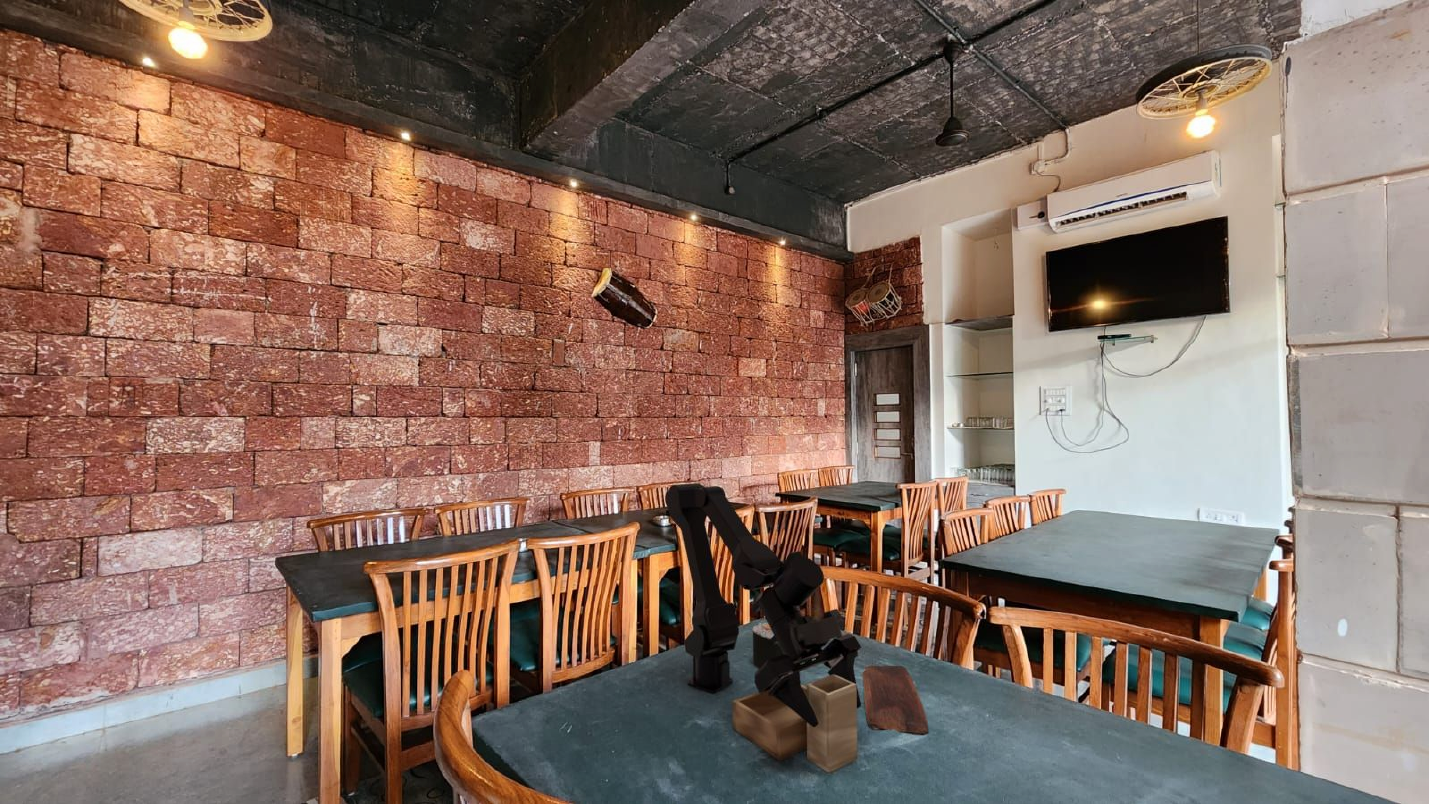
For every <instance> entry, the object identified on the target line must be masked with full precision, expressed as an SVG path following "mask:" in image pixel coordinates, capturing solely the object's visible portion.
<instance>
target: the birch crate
mask: <svg viewBox="0 0 1429 804" xmlns="http://www.w3.org/2000/svg"><path fill="white" fill-rule="evenodd" d="M856 684H857V683H856ZM856 684H855V683H852V682H850V681H848V680H846V679H844V678H841V677H839V676H837V675H835V674H833V675H828V676H824V677H822V678H820V679H817V680H814V681H812V682H808V683H806V685H805V686H806V691H807V699H808V701H809V703H810V705H811V707H812V709H813V711H814V713H815V715H816V718H817V720H818V723H819V724H818V725H817V726H816V727H812V726H811V725H810V724H809V723H807V749H806V753H807V754H806V755H807V757H806V758H807V760H809V761H810V762H812V763H813V764H815V765H816V766H817V767H819V768H820V769H822V770H823V771H825V772H828V774H831V773H832V772H835V771H837V770H838V769H839V770H840V769H841V768H843V767H844V766H846V765H848V764H850V763H852V762H855V761H857V760H858V716H857V715H858V709H857V689H856Z"/></svg>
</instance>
